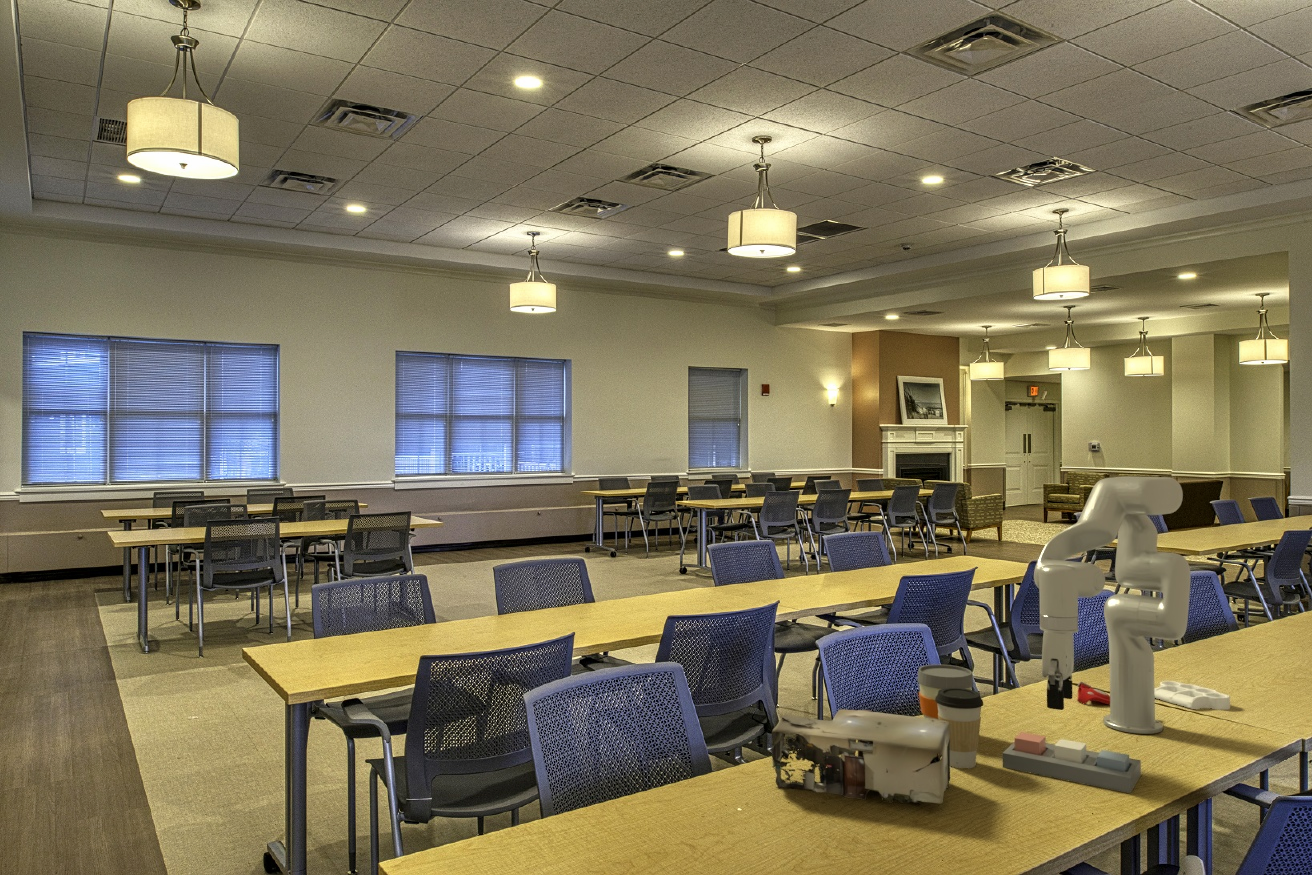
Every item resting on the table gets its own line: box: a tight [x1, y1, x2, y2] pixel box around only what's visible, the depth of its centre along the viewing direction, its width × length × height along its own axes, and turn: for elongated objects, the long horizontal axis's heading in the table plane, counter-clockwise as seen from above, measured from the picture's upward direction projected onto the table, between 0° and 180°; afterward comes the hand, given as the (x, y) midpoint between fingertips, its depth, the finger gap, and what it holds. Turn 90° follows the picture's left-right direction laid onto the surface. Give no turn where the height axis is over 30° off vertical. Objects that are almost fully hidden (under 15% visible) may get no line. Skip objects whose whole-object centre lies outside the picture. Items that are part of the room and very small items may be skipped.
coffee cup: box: [935, 688, 984, 769], centre depth 188 cm, size 10×10×15 cm
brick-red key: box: [1014, 731, 1047, 756], centre depth 188 cm, size 5×5×4 cm
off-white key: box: [1055, 738, 1087, 764], centre depth 183 cm, size 5×5×4 cm
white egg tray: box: [1155, 680, 1231, 711], centre depth 232 cm, size 3×18×15 cm
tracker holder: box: [1076, 680, 1110, 706], centre depth 234 cm, size 12×4×10 cm
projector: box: [770, 708, 951, 806], centre depth 176 cm, size 18×33×13 cm, turn 66°
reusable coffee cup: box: [917, 664, 974, 720], centre depth 207 cm, size 13×13×15 cm
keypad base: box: [1002, 741, 1142, 794], centre depth 183 cm, size 12×24×3 cm, turn 52°
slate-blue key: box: [1097, 749, 1130, 772], centre depth 178 cm, size 5×5×4 cm
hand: (1059, 703), depth 189 cm, fingers open, 9 cm apart
